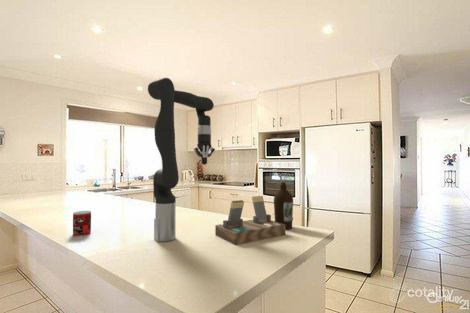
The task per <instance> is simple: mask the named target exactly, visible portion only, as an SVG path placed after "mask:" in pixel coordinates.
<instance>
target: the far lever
mask: <svg viewBox="0 0 470 313" xmlns="http://www.w3.org/2000/svg"><path fill="white" fill-rule="evenodd" d="M251 200H252V204H253V210H254V213H255V215H254V216H257V217H259V222H262V221H267V211H266V207H265V202H264V196H263V195H257V196H252V197H251Z"/></svg>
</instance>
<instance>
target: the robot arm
mask: <svg viewBox="0 0 470 313" xmlns="http://www.w3.org/2000/svg"><path fill="white" fill-rule="evenodd" d="M147 92H148V94H149V96H150V97H151V98H152V99H154V100H155V101H157V100H158V101H160V108H159V109H160V110H159V113H158V115H157V118H156V120H155V123H154V130H153V131H154V142H155V145H156V147H157V150H158V152H159V155H160V158H161V167H162V168H159V169H157V170H156V171H155V173H154V175H153V180H152V181H153V183H152V185H153V186H152V187H153V197H154V199H155V209H154V210H155V215H154V216H155V218H153V239H154V241H155V242H157V243H159V242H160V243H161V242H162V243H163V242H164V243H165V242H170V241H174V240H176V234H177V233H176V222H177V220H176V219H177V218H176V209H177V208H176V202H177V200H176V196H175V195H174V193H173V192H172V189H174V188H175V187H176V186H177V185H178V184H179V178H180V177H179V169H178V163H177V162H178V160H177V152H176V133H175V103H176V104H179V105H182V106H186V107H189V108H192V109H195V112H196V116H197V119H198V121H197V123H198V124H197V126H198V127H197V144H196V147H193V151H194V152H195V153H196V155H197V156H198V157H199V158H201V160H200V161H201V162H200V163H201V164H202V165H207V164H208V158H210V157H211V156H212V155H213V153H214V152H215V150H216V149H215V148H214V147H212V127H211V124H212V123H211V116H209V115H208V114H206V112H210V111H212V110H213V109H214V108H215V107H214V101H213V100H212V99H211V98H209V97H207V96H199V95H196V94H194V93H191V92H189V91H188V92H187V91H183V90H176V89H175V86H174V82H173V81H172V79H170V78H168V77H163V78H159V79H155V80H152V81H151V82H149V83H148V85H147Z"/></svg>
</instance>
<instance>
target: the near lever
mask: <svg viewBox="0 0 470 313" xmlns="http://www.w3.org/2000/svg"><path fill="white" fill-rule="evenodd" d="M244 205H245V200H243V199H240V200H239V199H238V200H231V203H230V208H229V214H228V218H227V221H229V227H230V226H237V225H239V223H240V218H241V217H242V212H243V209H244ZM241 219H242V218H241Z"/></svg>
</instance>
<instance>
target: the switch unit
mask: <svg viewBox="0 0 470 313" xmlns="http://www.w3.org/2000/svg"><path fill="white" fill-rule="evenodd" d="M266 214H267V213H266ZM214 227H215V229H214V230H215V236H216V237H218V238H220V239H222V240H224V241H226V242H228V243H231V244H232V245H234V246H236V245H240V244H245V243H247V244H248V243H251V242H255V241H260V240H265V239H271V238H275V237H280V236H281V237H282V236H285V235H286V230H285V224H281V223H278V222H275V220H272V214H267V221H262V222H259V217H257V216H256V215H254V216H253V217H252V219H248V220H247V219H246V220H243V218H240V223H239V225H237V226H230V227H229V221H228V219H227V220H226V219H225V220H223V221H222V223H219V224H215V226H214Z"/></svg>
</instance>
